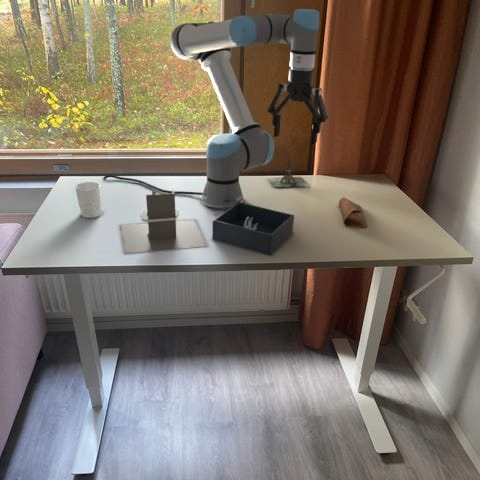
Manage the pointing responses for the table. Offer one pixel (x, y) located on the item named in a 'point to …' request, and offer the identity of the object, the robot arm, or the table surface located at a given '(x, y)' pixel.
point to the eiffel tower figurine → (288, 178)
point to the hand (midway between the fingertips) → (294, 139)
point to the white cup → (89, 199)
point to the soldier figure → (250, 224)
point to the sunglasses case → (351, 213)
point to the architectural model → (161, 228)
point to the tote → (261, 240)
